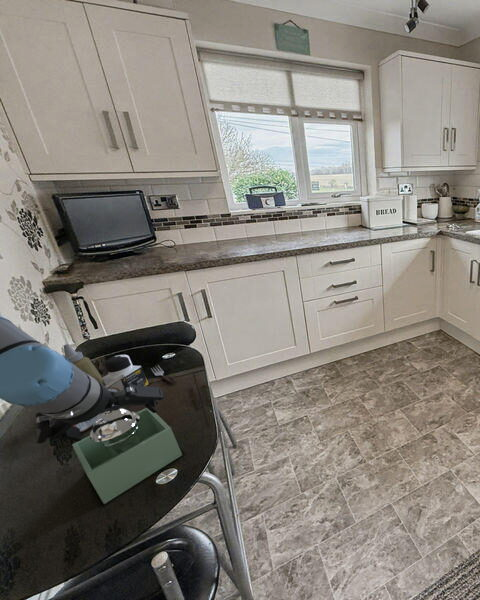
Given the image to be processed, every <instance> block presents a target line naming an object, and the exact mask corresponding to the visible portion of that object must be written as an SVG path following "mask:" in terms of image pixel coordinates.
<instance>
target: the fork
mask: <svg viewBox="0 0 480 600" xmlns="http://www.w3.org/2000/svg"><path fill="white" fill-rule="evenodd" d="M151 371H152V374H154V376H155V377H160V376H161V377H162V379H163V380H165V381H166V382H168V383H170V384H171V385H172V384H174V382H173V381H172V380H171V378H170V377H169V376H167V375H164V374H165V371H164V370H163V369H162V367H160V365H157V366H155V367H153V366H152V369H151Z"/></svg>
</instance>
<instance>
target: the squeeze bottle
mask: <svg viewBox="0 0 480 600" xmlns="http://www.w3.org/2000/svg"><path fill="white" fill-rule="evenodd" d="M63 353H64V355H63V356H64V357H66V358H67V359H68V360H69V361H70V362H71V363H72V364H74V365H75V366H76V367H78V368H79V369H80V370H82V371H84V372H85V373H87V374H88V375H90V376H91V377H93V378H94V379H96V380H97V381H98V382H100V383H101V384H103V385H104V381H103V379H102V378H103V377H102V375H101V374H100V372H99V370H98V369H97V368H96V367H95V365H94V364H93V361H91V359H90V357H87V356H84V355H83V353H82V351H76V350H75V349H74V348H73V347H72V345H70V344H69V343H66V344H63Z"/></svg>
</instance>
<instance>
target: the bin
mask: <svg viewBox="0 0 480 600" xmlns="http://www.w3.org/2000/svg"><path fill="white" fill-rule="evenodd" d="M136 413H137V414H138V415H139V421H138V422H137V424H138V433H139V436H140V440H141V443H140V444H138V445H136V446H134V447H132V448H131V449H129V450H127V451H125V452H123V453H122V454H120V455H118V456H116V457H114V458H113V457H112V456H111V455H110V453H109V452H108V451H107V450H106V448H105V447H103V446H102V445H101V444H100V443H99V442H94V441H92V440H91V439H90V435H88V436H86V437H84V438H81V439H82V440H81V441H78V442H74V443H72V444H71V446H72V448H73V450H74V452H75V454H76V456H77V458H78V460H79V462H80V464H81V467H82V468H83V470H84V472H85V474H86V476H87V478H88V480H89V481H90V483H91V485H92V487H93V488H94V490H95V491H96V494H97V495H98V497H99V498H100V500H101V502H102V503H103V505H105V504H107V503H109V502H110V501H112V500H113V499H115V498H117V497H119V496H120V495H121V494H123V493H125V492H126V491H128V490H129V489H131V488H133V487H134V486H135V485H137V484H139V483H141V482H142V481H143V480H146V479H147V478H148V477H150V476H151V475H153V474H155V473H157V472H158V471H160V470H161V469H163V468H164V467H166V466H167V465H169V464H170V463H172V462H173V461H175V460H177V459H179V458H180V457H181V456H183V453H182V451H181V449H180V446H179V444H178V441H177V439H176V436H175V434H174V432H173V430H172V427H171V426H170V425H168V424H167V423H166V421H164V420H163V419H162V417H160V416H159V414H157V412H156V413H153V412H151V411H150V410H149V409H147V408H146V407H145V408H143V409H141V410H139V411H137V412H136Z"/></svg>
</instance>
